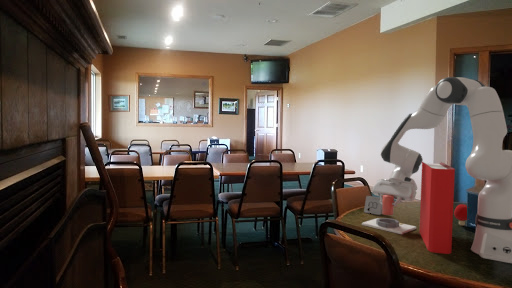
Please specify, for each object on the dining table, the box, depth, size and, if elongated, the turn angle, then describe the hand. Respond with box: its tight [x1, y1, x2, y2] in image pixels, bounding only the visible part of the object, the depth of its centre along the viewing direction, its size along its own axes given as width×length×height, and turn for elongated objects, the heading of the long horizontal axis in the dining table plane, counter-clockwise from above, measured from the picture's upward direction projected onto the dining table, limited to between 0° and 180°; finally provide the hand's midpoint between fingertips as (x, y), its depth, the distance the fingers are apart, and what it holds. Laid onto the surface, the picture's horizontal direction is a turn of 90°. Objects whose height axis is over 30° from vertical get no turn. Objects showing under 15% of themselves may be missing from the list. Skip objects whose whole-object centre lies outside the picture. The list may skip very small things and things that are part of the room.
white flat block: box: [361, 217, 417, 235], centre depth 177 cm, size 20×14×3 cm
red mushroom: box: [453, 203, 468, 227], centre depth 180 cm, size 9×7×10 cm
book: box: [419, 161, 456, 255], centre depth 154 cm, size 27×8×32 cm, turn 163°
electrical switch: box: [363, 195, 383, 216], centre depth 204 cm, size 9×5×9 cm, turn 49°
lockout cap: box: [381, 195, 395, 216], centre depth 176 cm, size 5×5×8 cm
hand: (387, 204), depth 176 cm, fingers closed on lockout cap, 5 cm apart
